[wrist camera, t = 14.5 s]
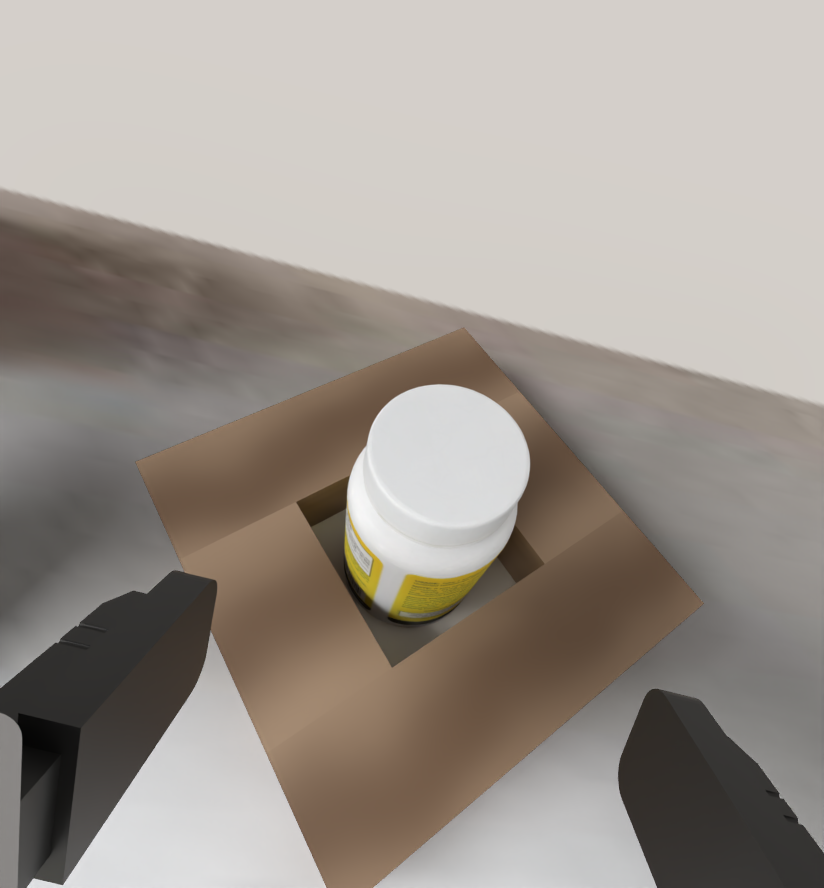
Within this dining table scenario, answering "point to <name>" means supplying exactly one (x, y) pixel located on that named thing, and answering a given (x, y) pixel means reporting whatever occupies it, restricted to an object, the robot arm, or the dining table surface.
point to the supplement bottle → (431, 502)
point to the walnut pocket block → (394, 647)
